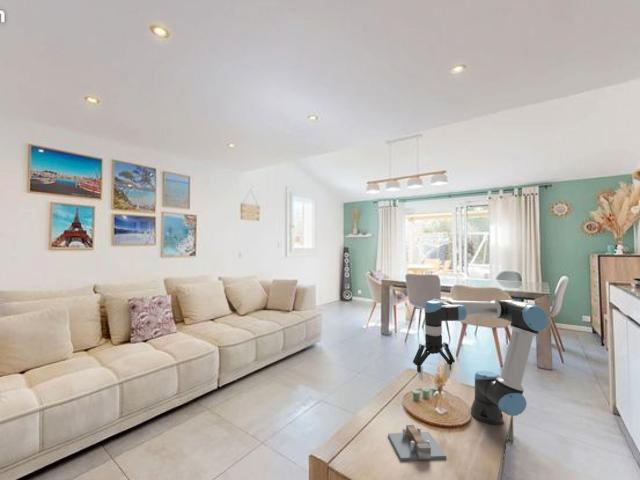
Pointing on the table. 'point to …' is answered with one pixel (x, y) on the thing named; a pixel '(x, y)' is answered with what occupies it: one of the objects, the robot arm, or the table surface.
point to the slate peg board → (405, 449)
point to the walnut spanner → (418, 442)
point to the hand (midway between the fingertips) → (434, 378)
